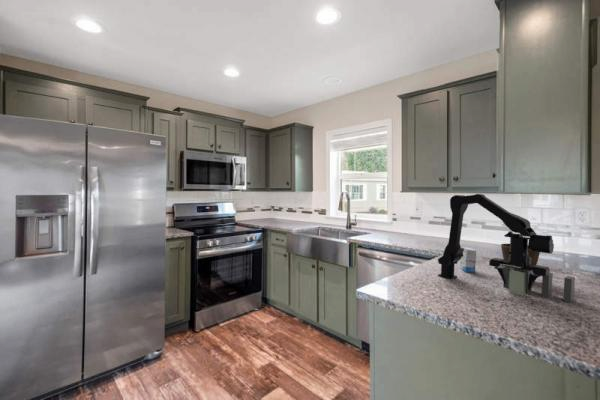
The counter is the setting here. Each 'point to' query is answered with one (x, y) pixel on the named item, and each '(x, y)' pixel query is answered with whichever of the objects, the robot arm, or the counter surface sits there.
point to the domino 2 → (527, 279)
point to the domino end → (569, 289)
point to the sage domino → (517, 282)
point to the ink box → (468, 260)
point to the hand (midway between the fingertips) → (517, 287)
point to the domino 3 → (547, 285)
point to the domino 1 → (508, 276)
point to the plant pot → (531, 254)
